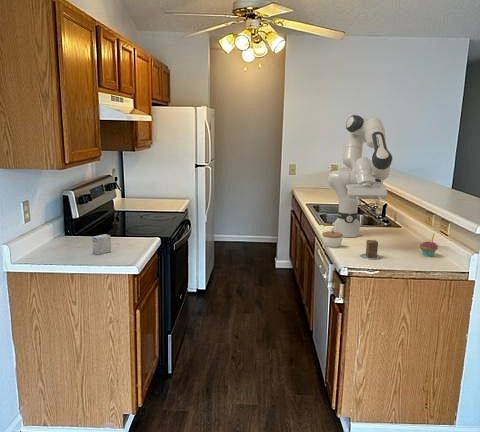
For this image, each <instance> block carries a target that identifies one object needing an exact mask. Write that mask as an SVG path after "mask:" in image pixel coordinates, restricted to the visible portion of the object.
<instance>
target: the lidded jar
mask: <svg viewBox="0 0 480 432" xmlns="http://www.w3.org/2000/svg"><path fill="white" fill-rule="evenodd" d="M321 236H322V243H323V245H324V246H325V247H326V248H333V249H334V248H339V247H340V246H341V244H342V243H343V237H342V236H343V234H342V233H339V232H334V231H333V230H332V231H331V230H330V231H324V232H322V235H321Z"/></svg>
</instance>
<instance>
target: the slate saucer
mask: <svg viewBox="0 0 480 432" xmlns="http://www.w3.org/2000/svg"><path fill="white" fill-rule="evenodd" d="M359 257H360V258H362V259H364V260H370V261H379V260H383V258H384V257H383V256H382V255H379V254H377V258H368V257H367V256H366V253H362V254H360V255H359Z"/></svg>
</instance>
